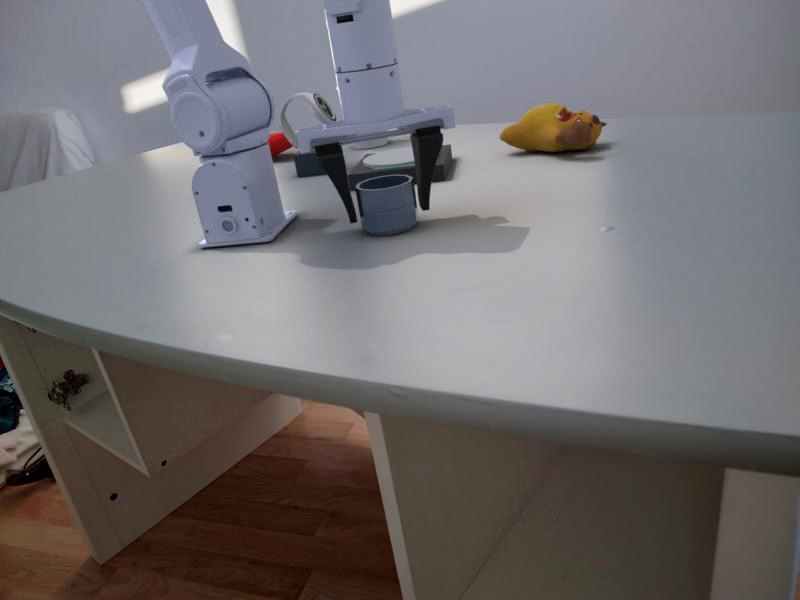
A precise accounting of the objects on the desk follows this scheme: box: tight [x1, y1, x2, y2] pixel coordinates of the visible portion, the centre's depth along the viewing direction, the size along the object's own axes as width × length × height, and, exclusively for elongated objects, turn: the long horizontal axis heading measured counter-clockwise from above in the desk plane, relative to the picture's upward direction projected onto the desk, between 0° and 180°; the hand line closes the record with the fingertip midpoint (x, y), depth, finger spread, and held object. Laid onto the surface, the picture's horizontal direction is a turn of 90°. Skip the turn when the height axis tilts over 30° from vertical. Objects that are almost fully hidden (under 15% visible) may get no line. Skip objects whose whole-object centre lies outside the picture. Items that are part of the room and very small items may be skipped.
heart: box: [267, 131, 294, 159], centre depth 109 cm, size 12×4×10 cm
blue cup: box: [354, 175, 419, 236], centre depth 63 cm, size 6×6×5 cm
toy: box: [499, 102, 608, 153], centre depth 83 cm, size 11×6×15 cm
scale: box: [347, 143, 453, 191], centre depth 84 cm, size 12×12×2 cm
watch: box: [278, 91, 338, 178], centre depth 92 cm, size 6×8×11 cm
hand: (389, 214), depth 63 cm, fingers open, 6 cm apart
